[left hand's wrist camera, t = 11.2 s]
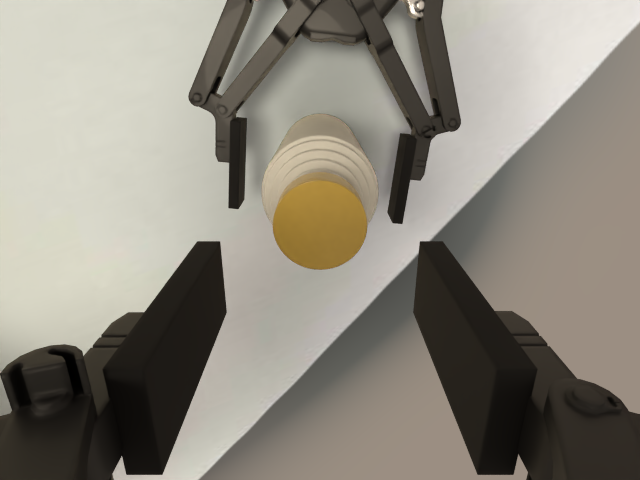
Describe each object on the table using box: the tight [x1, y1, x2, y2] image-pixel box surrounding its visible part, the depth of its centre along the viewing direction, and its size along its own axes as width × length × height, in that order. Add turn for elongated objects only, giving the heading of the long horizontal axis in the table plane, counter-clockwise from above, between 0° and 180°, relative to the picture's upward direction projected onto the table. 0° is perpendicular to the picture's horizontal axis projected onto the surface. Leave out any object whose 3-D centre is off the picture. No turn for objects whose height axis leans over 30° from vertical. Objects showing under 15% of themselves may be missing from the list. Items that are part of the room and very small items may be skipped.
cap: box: [273, 172, 367, 270], centre depth 20 cm, size 4×4×2 cm
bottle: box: [262, 114, 378, 225], centre depth 29 cm, size 7×7×20 cm
